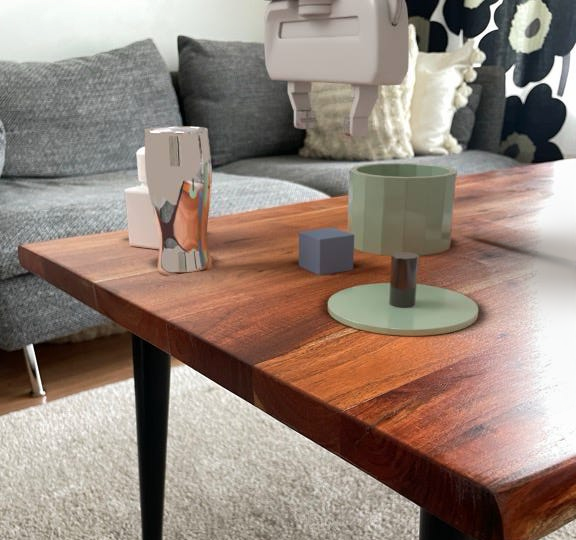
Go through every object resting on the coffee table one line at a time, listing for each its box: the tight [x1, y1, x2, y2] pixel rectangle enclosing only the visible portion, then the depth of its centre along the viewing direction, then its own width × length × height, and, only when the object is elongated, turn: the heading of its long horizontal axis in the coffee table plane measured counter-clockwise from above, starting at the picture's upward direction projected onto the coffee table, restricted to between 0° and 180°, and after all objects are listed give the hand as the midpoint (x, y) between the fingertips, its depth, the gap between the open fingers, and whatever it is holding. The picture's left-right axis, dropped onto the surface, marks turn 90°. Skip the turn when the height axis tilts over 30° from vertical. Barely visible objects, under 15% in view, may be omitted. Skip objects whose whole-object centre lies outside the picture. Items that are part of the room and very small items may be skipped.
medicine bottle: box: [123, 145, 159, 250], centre depth 90 cm, size 7×7×12 cm
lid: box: [327, 252, 479, 337], centre depth 65 cm, size 14×14×6 cm
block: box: [298, 226, 355, 276], centre depth 79 cm, size 4×4×4 cm
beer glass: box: [143, 125, 213, 277], centre depth 78 cm, size 7×7×15 cm
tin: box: [346, 162, 458, 257], centre depth 88 cm, size 13×13×10 cm
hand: (328, 132), depth 72 cm, fingers open, 8 cm apart
